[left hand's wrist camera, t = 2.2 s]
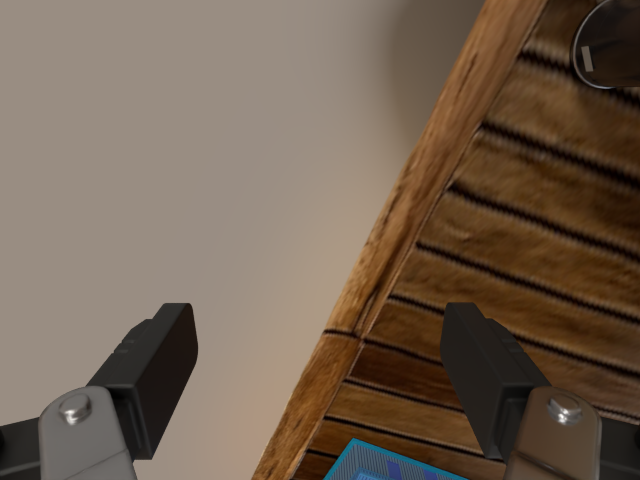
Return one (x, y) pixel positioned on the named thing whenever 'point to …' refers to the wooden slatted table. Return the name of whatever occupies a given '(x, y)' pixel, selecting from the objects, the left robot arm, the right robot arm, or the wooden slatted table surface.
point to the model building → (381, 465)
